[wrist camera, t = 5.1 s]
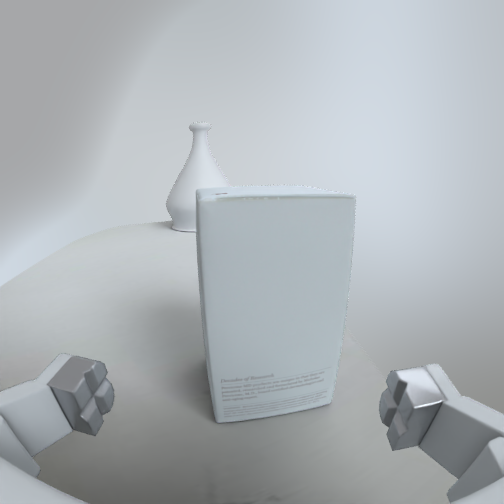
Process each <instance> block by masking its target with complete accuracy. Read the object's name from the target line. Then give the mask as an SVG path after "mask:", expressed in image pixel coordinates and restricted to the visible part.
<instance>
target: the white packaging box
mask: <svg viewBox="0 0 504 504" xmlns="http://www.w3.org/2000/svg"><path fill="white" fill-rule="evenodd" d="M355 204H356V196H355V195H353V194H348V193H342V192H336V191H330V190H324V189H318V188H313V187H308V186H301V185H264V186H263V185H261V186H233V187H215V188H202V189H197V190H196V241H197V262H198V277H199V291H200V303H201V315H202V326H203V336H204V345H205V355H206V364H207V373H208V380H209V386H210V392H211V398H212V403H213V408H214V414H215V420H216V422H217V423H224V422H234V421H243V420H250V419H257V418H264V417H270V416H277V415H283V414H288V413H292V412H298V411H302V410H307V409H311V408H316V407H320V406H323V405H327V404H329V403H331V401H332V397H333V392H334V387H335V382H336V377H337V372H338V366H339V361H340V354H341V348H342V342H343V335H344V328H345V321H346V313H347V305H348V295H349V287H350V277H351V267H352V254H353V241H354V224H355Z"/></svg>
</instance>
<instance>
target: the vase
mask: <svg viewBox="0 0 504 504" xmlns="http://www.w3.org/2000/svg"><path fill="white" fill-rule="evenodd" d="M189 129H190V130H191V131H192V132H193V145H192V149H191V152H190V155H189V157H188V159H187V161H186V163H185V165H184V167H183V169H182V171H181V173H180V174H179V176H178V178H177V180H176V182H175V184H174V186H173V188H172V190H171V192H170V194H169V196H168V199H167V203H166V207H167V210H168V212H169V214H170V216H171V217H172V220H173V226H172V227H171V228H172V229H174V230H178V231H189V232H196V190H197V189H202V188H215V187H232V186H231V184H230V183H229V181H228V180H227V178H226V177H225V175H224V173H223V172H222V170H221V169H220V167H219V165H218V164H217V162H216V161H215V159H214V157H213V155H212V153H211V151H210V148H209V145H208V138H207V133H208V131H209V130H210V129H211V124H209V123H205V122H198V123H193V124H191V125H190V126H189Z"/></svg>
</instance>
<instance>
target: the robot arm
mask: <svg viewBox="0 0 504 504" xmlns="http://www.w3.org/2000/svg"><path fill="white" fill-rule="evenodd" d="M107 373H108V372H107V369H106V367H105V364H104V363H102V362H100V361H96V360H92V359H88V358H83V357H79V356H74V355H70V354H67V353H61V354H59V355H58V356H57V357H56V358H55V359H54V360H53V361H52V362H51V363H50V364H49V365H48V367H47V368H46V369H45V370H44V371H43V372H42V373H41V374H40V375H39V376H38V377H37V378H36V379H35V380H29V381H26V382H23V383H21V384H18V385H16V386H13V387H10V388H8V389H5V390H2V391H0V504H89V503H87V502H84V501H82V500H79V499H77V498H75V497H73V496H70V495H68V494H66V493H64V492H62V491H60V490H58V489H56V488H54V487H52V486H50V485H48V484H46V483H44V482H42V481H40V480H38V479H36V478H37V476H38V474H39V472H40V471H41V470H40V467H39V465H38V464H37V463H36V462H35V461H34V459H33V458H32V457H33V456H35V455H36V454H38V453H39V452H41V451H43V450H44V449H46V448H47V447H49V446H51V445H52V444H54V443H55V442H57V441H58V440H60V439H61V438H63V437H64V436H66V435H68V434H69V433H71V432H72V431H73V430H76V431H79V432H83V433H86V434H89V435H93V436H96V434H97V433H98V431H99V429H100V427H101V426H102V424H103V422H104V420H103V416H102V415H104V414H106V413H108V412H110V410H111V408H112V406H113V402H114V389H113V386H112V384H111V383H110V381H109V380H108V379H107V378H106V375H107ZM386 383H387V385H388V388H387V389H386V390H385V391H384V392H383V393H382V395H381V399H380V404H379V412H380V417H381V420H382V423H383V424H385V425H386V426H388V427H389V429H388V432H387V437H388V440H389V443H390V445H391V448H392V451H394V450H400V449H405V448H409V447H414V446H418V445H419V446H418V447H419V448H420V449H422V450H423V451H424V452H425V453H426V454H428V455H429V456H430V457H431V458H433V459H434V460H435V461H436V462H438V463H439V464H440V465H441V466H442V467H444V468H445V469H446V470H447V471H449V472H450V473H451V474H453V475H454V476H455V477H456V478H458V480H457V482H456V483H455V484H454V485H453V486H452V487H451V488H450V489H449V491H448V492H447V496H448V499H449V502H450V503H449V504H504V414H502V413H500V412H498V411H496V410H494V409H492V408H490V407H488V406H486V405H484V404H481V403H479V402H477V401H475V400H473V399H471V398H469V397H467V396H463V397H461V395H460V394H459V392H458V391H457V389H456V388H455V387H454V385H453V383H452V382H451V381H450V379H449V378H448V376H447V375H446V374H445V372H444V371H443V369H442V368H441V367H440V365H438V364H436V363H435V364H430V365H425V366H421V367H415V368H409V369H402V370H394V371H391V372H390V373H389V375H388V377H387V380H386Z"/></svg>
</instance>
